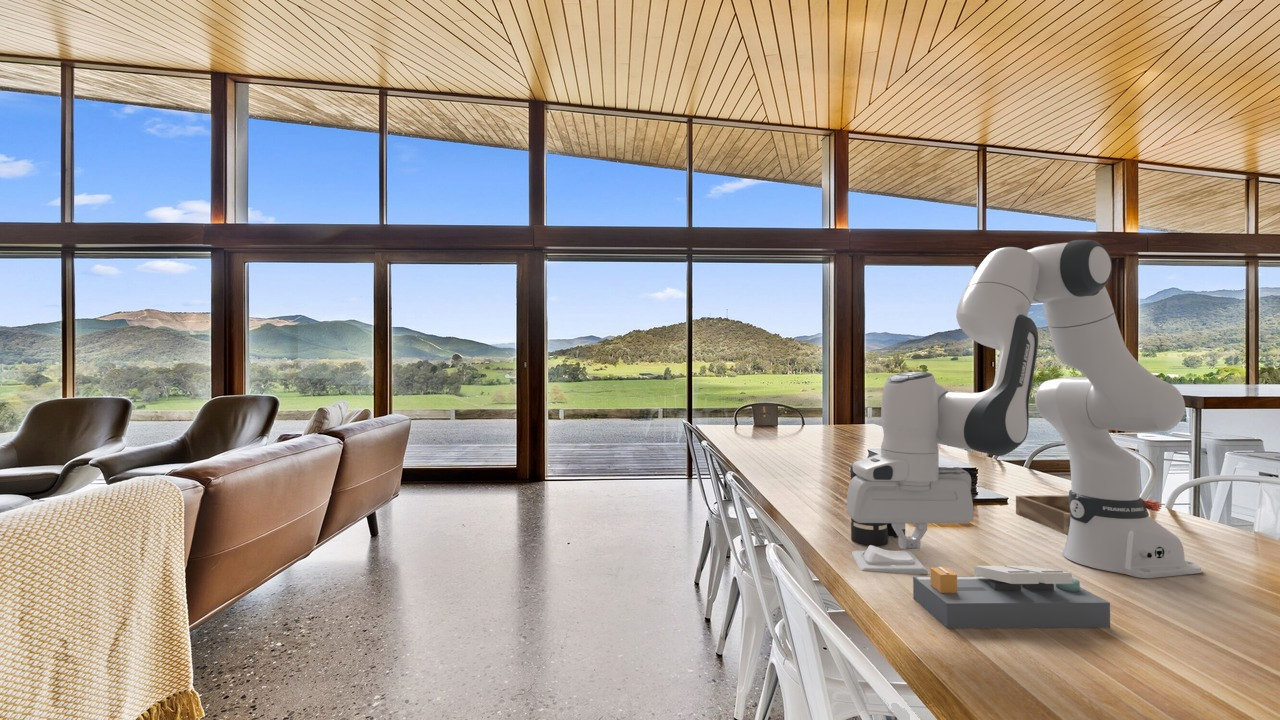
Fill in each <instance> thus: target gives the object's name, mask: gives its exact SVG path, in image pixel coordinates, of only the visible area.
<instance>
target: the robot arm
mask: <svg viewBox="0 0 1280 720" xmlns="http://www.w3.org/2000/svg"><path fill="white" fill-rule="evenodd" d="M1112 272H1113V262H1112V258H1111V255H1110V252H1109V250H1108V249H1107V248H1106V247H1105V246H1104V245H1102V244H1101V243H1099V241H1097V240H1093V239H1076V240H1075V239H1073V240H1070V241H1068V242H1061V243H1053V244H1052V243H1051V244H1044V245H1039V246H1036V247H1033V248H1030V249H1027V250H1026V249H1023V248H1020V247H1014V246H1006V247H1005V246H1004V247H999V248H997V249H995V250H993V251H991V252H990V253H989V254H987V256H986V257H985V258H984V259H983V261H981V262H980V264H979V265H978V267H977V269H976V270H975V271H974V273H973V274H972V276H971V277H970V279H969V282H968V283H967V285H966V287H965V289H964V291H963V293H962V295H961V298H960V299H959V302H958V304H957V308H956V321H957V323H958V327H959V328H960V330H961V331H962V332H963V333H964V334H965V335H966V336H967V337H969V338H970V339H971V340H973V341H974V342H975V343H978V344H980V345H982V346H984V347H988V348H991V349H995V350H997V351H999V356H998V360H997V367H996V370H995V375H994V380H993V383H992V386H991V387H989V388H988V389H987V390H984V391H981V392H971V391H969V392H967V391H956V390H949V389H947V388H945V387H943V386H941V385H940V384H938V383H937V382H936V379H935V375H934V374H932V373H931V372H927V371H908V372H907V371H906V372H899V373H895V374H892V375H890V376H889V377H887V379H886V381H885V383H884V385H883V391H882V395H881V405H880V406H881V408H880V409H881V411H880V412H881V413H880V417H881V418H880V423H881V428H882V431H883V438H882V442H881V446H880V447H881V448H880V453H877V454H875V455H871V456H869V457H865V458H863V459H859V460H856V461H854V462H853V463H852V464H853V472H854V473H855V474H856V475H857V476H855V477H853V478H852V479H851V478H850V481H849V484H848V490H847V496H846V497H847V498H846V511H847V515H848V516H849V517H850V519H851V518H852V519H853V520H854V521H856V522H858V523H892V527H893V529H894V531H895V532H896V534H897V536H898V538H897V539H898V543H897V544H898V547H899V549H901V550H920V549H921V540H922V539H923V537H924V536H925V534H926V532H927V531H928V524H945V525H946V524H947V525H948V524H953V525H954V524H961V525H962V524H966V525H968V524H970V523H971V522H972V521H973V519H974V512H975V511H974V503H973V496H972V491H971V490H972V477H971V475H970V473H969V472H968V471H967V470H964V469H963V468H962V467H958V466H956V467H955V466H953V467H946V466H939V464H940V463H939V457H940V456H939V454H940V453H939V445H943V446H947V447H953V448H959V449H964V450H965V449H966V450H973V451H975V452H979V453H983V454H987V455H991V456H995V457H1002V456H1005V455H1007V454H1010V453H1011V452H1013V451H1015V450H1016V449H1018V447H1020V446H1021V445H1022V444H1023V443H1024V442H1025V440H1026V439H1027V437H1028V431H1029V421H1030V419H1029V414H1030V413H1029V412H1030V411H1029V406H1030V405H1029V403H1030V397H1031V390H1032V386H1033V385H1032V384H1033V381H1034V380H1033V379H1034V375H1035V369H1036V362H1037V357H1038V356H1037V355H1038V351H1039V350H1038V348H1039V333H1038V332H1039V331H1038V327H1037V325H1036V324H1035V322H1034V321H1033V319H1032V318H1031V317H1029V310H1030V308H1031V306H1032V305H1033V304H1042V305H1043V311H1044V316H1045V320H1046V324H1047V329H1048V330H1049V335H1050V337H1051V341H1052V346H1053V349H1054V351H1055V355H1056V357H1057V358H1058V359H1059V361H1060V362H1062V363H1063V364H1065V365H1066V366H1069V367H1070V368H1073V369H1075V370H1077V371H1078V372H1080V373H1081V374H1082V375H1083V376H1067V377H1066V376H1065V377H1058V378H1054V379H1047V380H1046V381H1043V383H1041V384H1040V385H1039V387H1038V389H1037V391H1036V393H1035V397H1034V404H1035V408H1036V411H1037V412H1038V413H1039V415H1040V416H1041V418H1043V419H1044V420H1046V421H1047V422H1048V423H1049V424H1051V426H1052V427H1053V428H1054V429H1055V430H1056V431H1057V433H1058V434H1059V436H1060V437H1061V439H1062V441H1063V443H1064V445H1065V448H1066V450H1067V454H1068V457H1069V465H1070V466H1069V467H1070V468H1069V469H1070V481H1071V482H1070V484H1071V487H1070V490H1068V495H1069V510H1070V515H1071V517H1070V525H1069V531H1068V535H1067V537H1066V541H1065V545H1064V548H1063V550H1062V556H1064V558H1066V559H1068V560H1070V561H1072V562H1074V563H1077V564H1079V565H1083V566H1087V567H1090V568H1093V569H1098V570H1102V571H1107V572H1114V573H1118V574H1124V575H1128V576H1131V577H1134V578H1135V577H1136V578H1140V579H1153V578H1162V577H1163V578H1164V577H1173V576H1184V575H1193V574H1201V573H1202V571H1203V570H1202V567H1200V566H1199V565H1198V564H1196V563H1195V562H1193V561H1191V560H1189V559H1186V558H1185V551H1184V550H1185V549H1184V546H1183V543H1182V541H1181V539H1180V538H1179V537H1178V536H1177V535H1176V534H1174V533H1173V532H1171V531H1170V530H1168V529H1167V528H1166V527H1164V526H1163V525H1162V524H1160V523H1158V521H1156V520H1155V519H1153V518H1152V517H1151V516H1150V514H1149V511H1148V510H1150V511H1153V512H1156V513H1157V512H1160V510H1161V509H1162V504H1160V502H1159V501H1156V500H1152V499H1147V500H1144V499H1143V498H1141V496H1140V464H1139V462H1138V460H1137V458H1136V456H1134V455H1133V454H1132V453H1130V452H1129V451H1127V450H1125V449H1124V448H1122V447H1120V446H1119V445H1117V443H1115V441H1114V440H1113V438H1112V437H1111V435H1110V431H1121V432H1129V433H1156V432H1169V431H1170V430H1173V429H1174V428H1175V427H1177V426H1178V425H1179V423H1181V421H1182V420H1183V417H1184V415H1185V412H1186V411H1185V410H1186V403H1185V399H1184V397H1183V395H1182V393H1181V391H1180V390H1179V389H1178V388H1177V387H1176V386H1175V385H1173V384H1172V383H1170V382H1169V381H1168V382H1167V381H1165V380H1163V379H1161V378H1159V377H1157V376H1156V375H1154V374H1153V373H1151V372H1150V371H1149V370H1147V369H1146V368H1145V367H1144V366H1143V365H1142V364H1141V363H1139V362H1138V360H1137V359H1135V357H1134V356H1133V354H1132V353H1131V352H1130V351H1129V349H1128V347H1127V346H1126V344H1125V341H1124V338H1123V336H1122V333H1121V330H1120V327H1119V323H1118V320H1117V317H1116V313H1115V309H1114V306H1113V303H1112V300H1111V298H1110V294H1109V292H1108V290H1107V288H1106V285H1107V284H1108V282H1109V281H1110V279H1111V277H1112ZM1109 430H1110V431H1109ZM906 524H912V525H913V527H915V528H914V530H913V533H912V534H911V535H909V536H908V535H906V533H905V534H904V533H903V531H902V529H905V530H906Z"/></svg>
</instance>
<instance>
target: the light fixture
mask: <svg viewBox="0 0 1280 720" xmlns="http://www.w3.org/2000/svg"><path fill="white" fill-rule="evenodd" d="M855 476H857V475H856V474H855V473H854V472H853V463H852V464H850V480H851V479H852V478H853V477H855ZM850 529H851V530H850V539H851V541H852V542H853V543H855V544H856V545H859V546H860V545H861V546H865V547H869V546H870V545H873V546H876V547H878V548H881V547H885V546H887V545H888V544H889V537H890V538H895V539H898V536H897V534H896V532H895V531H894V529H893V527H892V523H858V522H856V521H854V520H853V519H852V518H851V517H850ZM902 531H903V533H904V534H905V535H906V528H905V529H902Z"/></svg>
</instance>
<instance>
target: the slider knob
mask: <svg viewBox="0 0 1280 720" xmlns="http://www.w3.org/2000/svg"><path fill="white" fill-rule="evenodd" d="M929 573H930V575H929V576H930V580H931V586H932V587H934V588H935V589H936V590H938V591H939V592H940V593H957V576H958V574H956V573H955V572H954V571H952V570H951V569H949V568H948V567H942V566H938V567H930V570H929Z"/></svg>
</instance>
